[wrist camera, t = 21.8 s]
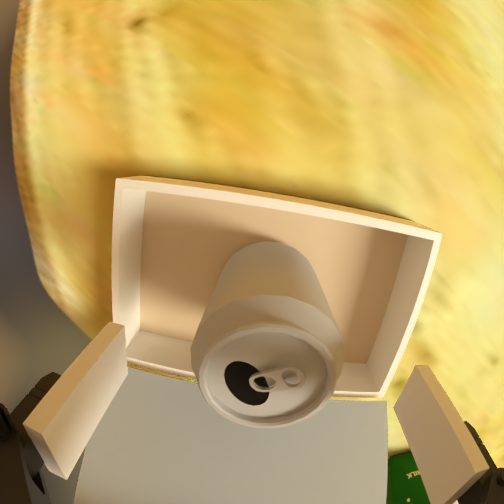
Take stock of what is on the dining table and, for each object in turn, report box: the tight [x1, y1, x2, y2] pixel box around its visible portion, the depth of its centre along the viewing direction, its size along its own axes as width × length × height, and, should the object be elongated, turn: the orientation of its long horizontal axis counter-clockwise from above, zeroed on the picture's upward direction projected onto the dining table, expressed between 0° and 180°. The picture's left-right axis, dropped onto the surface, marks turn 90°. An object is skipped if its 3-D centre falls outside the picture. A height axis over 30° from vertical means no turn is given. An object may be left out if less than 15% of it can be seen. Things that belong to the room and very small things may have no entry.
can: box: [190, 241, 345, 429], centre depth 18 cm, size 8×8×12 cm
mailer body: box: [112, 175, 442, 398], centre depth 22 cm, size 14×22×5 cm, turn 81°
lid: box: [74, 367, 388, 504], centre depth 15 cm, size 15×22×2 cm
